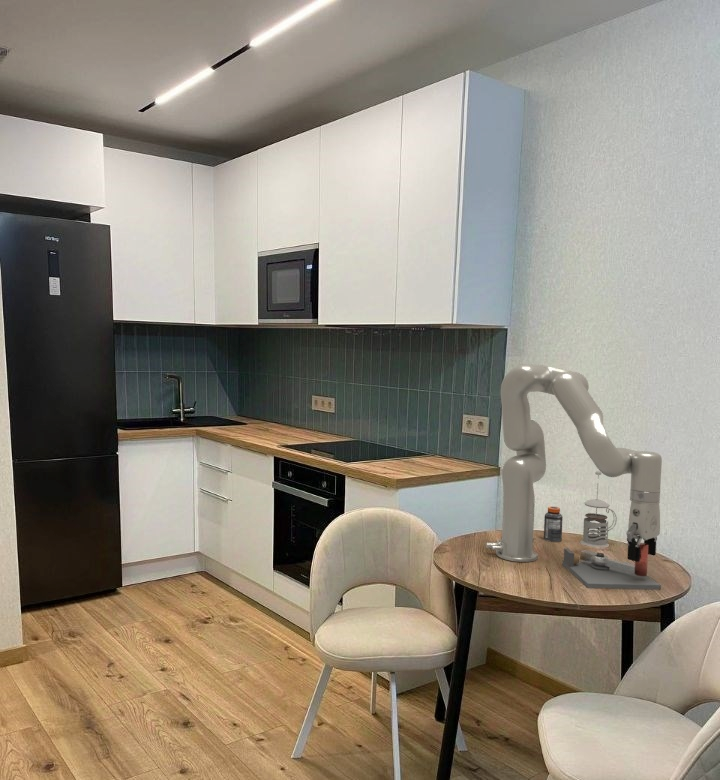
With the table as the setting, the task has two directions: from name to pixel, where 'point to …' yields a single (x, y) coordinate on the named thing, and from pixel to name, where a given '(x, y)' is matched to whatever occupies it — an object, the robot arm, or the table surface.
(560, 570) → the table surface
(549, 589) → the table surface
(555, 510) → the pill bottle
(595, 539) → the french press
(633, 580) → the base
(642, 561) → the lever
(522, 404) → the robot arm
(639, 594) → the table surface
